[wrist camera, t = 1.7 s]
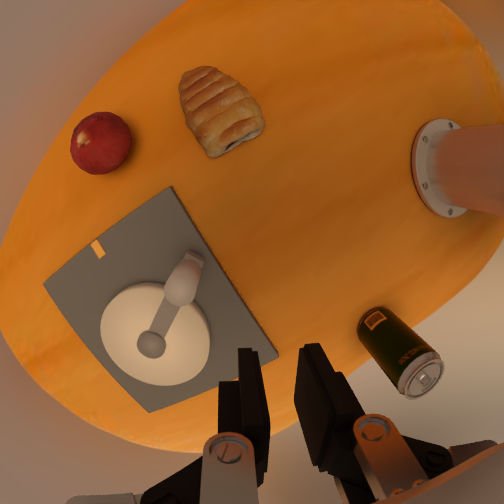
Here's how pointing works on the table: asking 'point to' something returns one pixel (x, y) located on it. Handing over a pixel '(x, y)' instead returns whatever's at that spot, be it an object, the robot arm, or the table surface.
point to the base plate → (158, 271)
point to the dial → (159, 327)
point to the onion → (100, 143)
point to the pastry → (218, 110)
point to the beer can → (400, 353)
